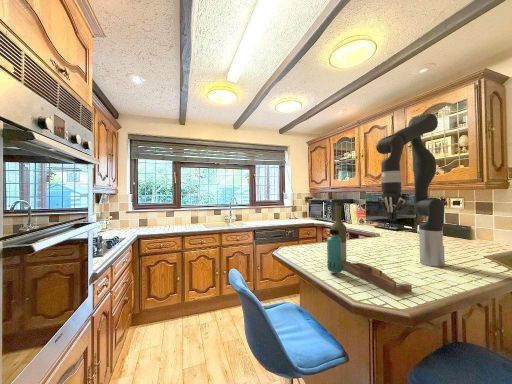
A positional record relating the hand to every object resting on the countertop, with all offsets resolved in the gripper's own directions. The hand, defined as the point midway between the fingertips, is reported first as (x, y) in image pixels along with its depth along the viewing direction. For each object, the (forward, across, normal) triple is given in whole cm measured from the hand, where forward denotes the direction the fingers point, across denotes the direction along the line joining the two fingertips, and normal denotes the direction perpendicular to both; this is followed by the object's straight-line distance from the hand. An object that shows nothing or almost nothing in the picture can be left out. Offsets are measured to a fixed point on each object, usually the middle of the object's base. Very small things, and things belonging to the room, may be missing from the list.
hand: (392, 220), depth 96 cm
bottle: (+24, +16, +16) cm, 33 cm away
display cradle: (+23, -2, +13) cm, 27 cm away
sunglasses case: (+24, +1, +10) cm, 26 cm away
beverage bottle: (+24, +8, +24) cm, 35 cm away
